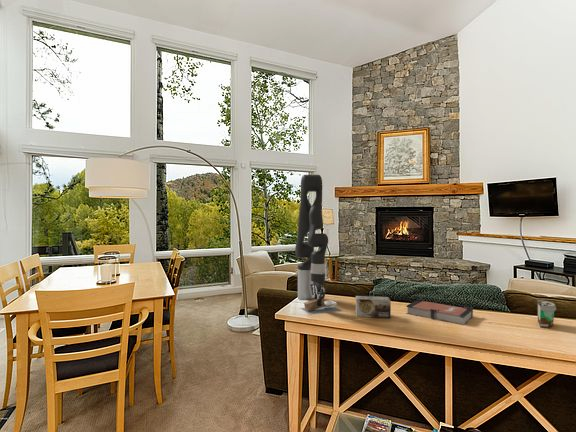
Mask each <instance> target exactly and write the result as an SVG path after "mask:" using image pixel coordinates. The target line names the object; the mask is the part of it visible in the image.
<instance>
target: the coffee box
mask: <svg viewBox="0 0 576 432" xmlns="http://www.w3.org/2000/svg"><path fill="white" fill-rule="evenodd" d="M391 301H392V300H391V299H390V297H389V296H373V295H372V296H370V295H355V315H356V317H361V318H362V317H363V318H366V319H367V318H370V319H371V318H373V319H374V318H375V319H392V318H391V316H392V315H391V313H392V311H391V308H392V307H391V306H392V305H391V303H392V302H391Z"/></svg>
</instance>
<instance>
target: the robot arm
mask: <svg viewBox="0 0 576 432" xmlns="http://www.w3.org/2000/svg"><path fill="white" fill-rule="evenodd" d="M308 192H310V193H313V192H315V198H314V201H313V203H312V204H311V203H310V200H309V197H308ZM299 204H300V205H299V211H298V219H297V221H298V224H297V235H296V242H295V247H294V248H295V249H294V253H295V256H296V257H297V258H298V259H303V258H304V259H306V260H304V261H303V262H300V263H298V264H297V299H299V300H305V301H307V300H308V301H310V300H315V299H317V306H318V307H320V306H322V299H324V300H325V297H326V293H327V288H326V287H325V288H324V282H326V259H325V258H326V251H327V248H328V244H329V236H328V235H327V234H326V233H322V232H321V233H316V231H319V230H322V229H323V228H324V218H323V179H322V176H321V175H320V174H302V176H301V180H300V200H299ZM307 235H308V237H307V241H304V239H305V238H306V236H307ZM315 248H318V250H316V251H315Z"/></svg>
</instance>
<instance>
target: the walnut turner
mask: <svg viewBox="0 0 576 432" xmlns="http://www.w3.org/2000/svg"><path fill="white" fill-rule="evenodd" d="M303 304H304V308H305V310H306V311H307V312H308V311H312V310H315V309H318V308H322V307H330V306H334V307H335V306H337V305H338V303H337V301H334V300H332V299H327V300H325V298H324V299H322V306H320V307H318V306H317V299H315V300H314V299H310V300H308V301H305V302H303ZM307 312H306V313H307Z"/></svg>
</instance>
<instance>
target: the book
mask: <svg viewBox="0 0 576 432" xmlns="http://www.w3.org/2000/svg"><path fill="white" fill-rule="evenodd" d="M425 300H426V299H424V298H416V300H415V301H413V302H411V303H409V304H407V305H406V308H407V312H406V315H410V316H411V315H412V316H415V317H421V318H425V319H431V320H436V321H440V322H446V323H451V324H457V325H462V326H465V325H466V324H467V323H469V321H470V320H471V319H472V318H473V317H474V307H473V306H469V305H467V306H466V305H465V306H464V307H460V306H456V305H449V304H443V303H438V302H432V301H425Z"/></svg>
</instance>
